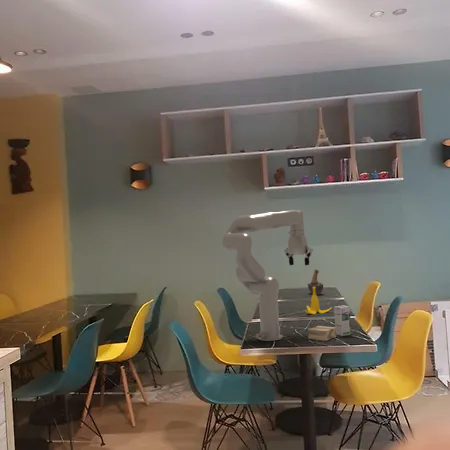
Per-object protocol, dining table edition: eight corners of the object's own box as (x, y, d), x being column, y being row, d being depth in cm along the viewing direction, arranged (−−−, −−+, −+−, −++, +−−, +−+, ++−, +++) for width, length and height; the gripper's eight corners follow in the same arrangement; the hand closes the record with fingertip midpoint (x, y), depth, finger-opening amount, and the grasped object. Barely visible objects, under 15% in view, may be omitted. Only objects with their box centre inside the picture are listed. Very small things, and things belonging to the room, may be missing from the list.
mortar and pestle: (322, 296, 401) (320, 270, 401) (302, 295, 410) (301, 270, 410) (329, 293, 413) (327, 268, 413) (309, 293, 422) (308, 268, 423)
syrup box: (342, 336, 258) (340, 307, 259) (335, 334, 264) (333, 306, 264) (351, 334, 261) (350, 306, 261) (344, 332, 266) (343, 304, 266)
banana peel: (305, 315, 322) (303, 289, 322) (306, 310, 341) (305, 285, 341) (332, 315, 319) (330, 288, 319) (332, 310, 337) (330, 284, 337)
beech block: (326, 341, 251) (325, 331, 251) (308, 339, 257) (308, 329, 257) (336, 337, 258) (336, 327, 258) (319, 335, 265) (318, 325, 265)
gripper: (280, 234, 281) (281, 265, 281) (307, 233, 270) (309, 265, 270) (287, 233, 286) (289, 264, 286) (314, 232, 275) (316, 264, 275)
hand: (299, 265), depth 278 cm, fingers open, 9 cm apart
